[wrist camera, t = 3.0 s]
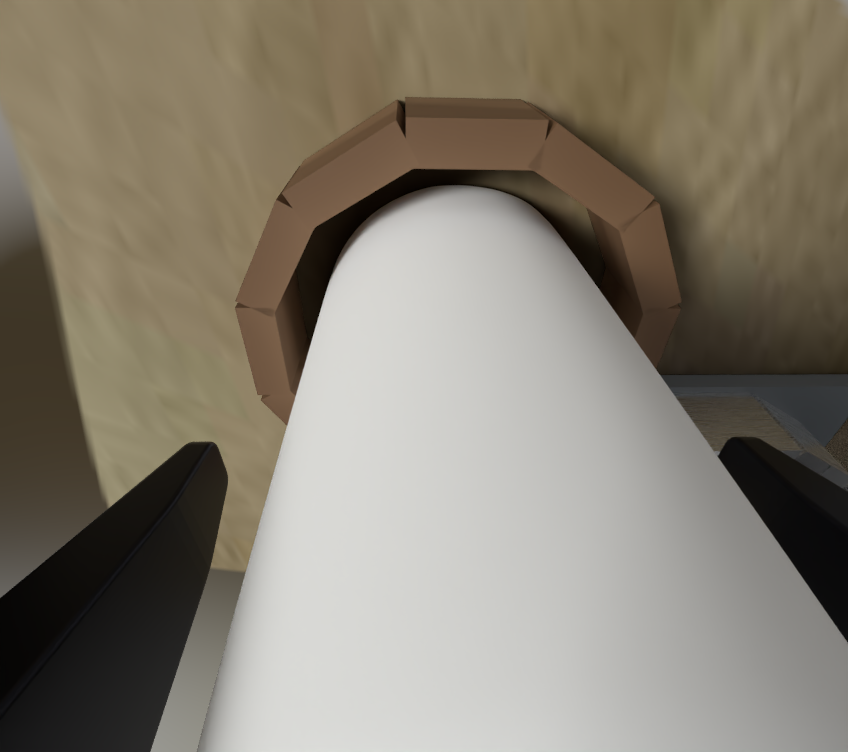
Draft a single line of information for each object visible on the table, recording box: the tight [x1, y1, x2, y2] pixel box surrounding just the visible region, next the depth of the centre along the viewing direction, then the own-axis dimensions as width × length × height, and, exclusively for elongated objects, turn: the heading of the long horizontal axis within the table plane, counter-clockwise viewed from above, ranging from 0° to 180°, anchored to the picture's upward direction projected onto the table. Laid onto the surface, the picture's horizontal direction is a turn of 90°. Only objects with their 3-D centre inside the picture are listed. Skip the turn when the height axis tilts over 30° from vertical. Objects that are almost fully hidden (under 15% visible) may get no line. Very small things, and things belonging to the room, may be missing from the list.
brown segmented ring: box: [235, 97, 682, 425], centre depth 12 cm, size 10×10×2 cm
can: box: [197, 185, 848, 752], centre depth 8 cm, size 6×6×12 cm
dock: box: [660, 374, 848, 491], centre depth 16 cm, size 10×10×3 cm
